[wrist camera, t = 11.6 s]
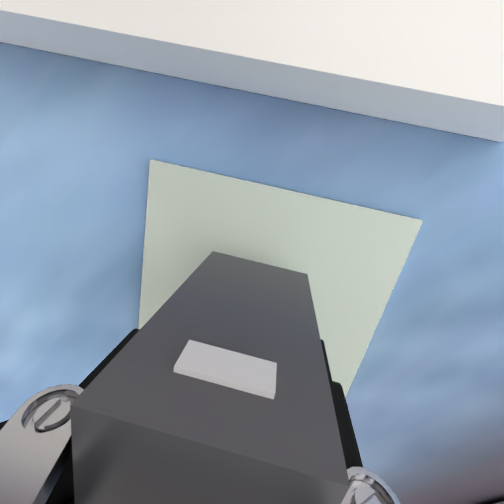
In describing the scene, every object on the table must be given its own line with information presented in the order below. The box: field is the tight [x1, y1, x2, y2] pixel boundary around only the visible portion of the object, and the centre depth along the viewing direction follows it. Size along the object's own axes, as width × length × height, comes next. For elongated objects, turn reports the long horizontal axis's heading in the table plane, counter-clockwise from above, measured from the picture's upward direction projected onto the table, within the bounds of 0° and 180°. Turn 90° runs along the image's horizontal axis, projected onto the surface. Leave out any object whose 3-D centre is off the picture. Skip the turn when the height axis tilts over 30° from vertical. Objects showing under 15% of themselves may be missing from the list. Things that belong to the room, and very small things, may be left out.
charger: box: [70, 251, 350, 504], centre depth 8 cm, size 4×6×8 cm
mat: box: [138, 159, 423, 398], centre depth 15 cm, size 14×12×1 cm
